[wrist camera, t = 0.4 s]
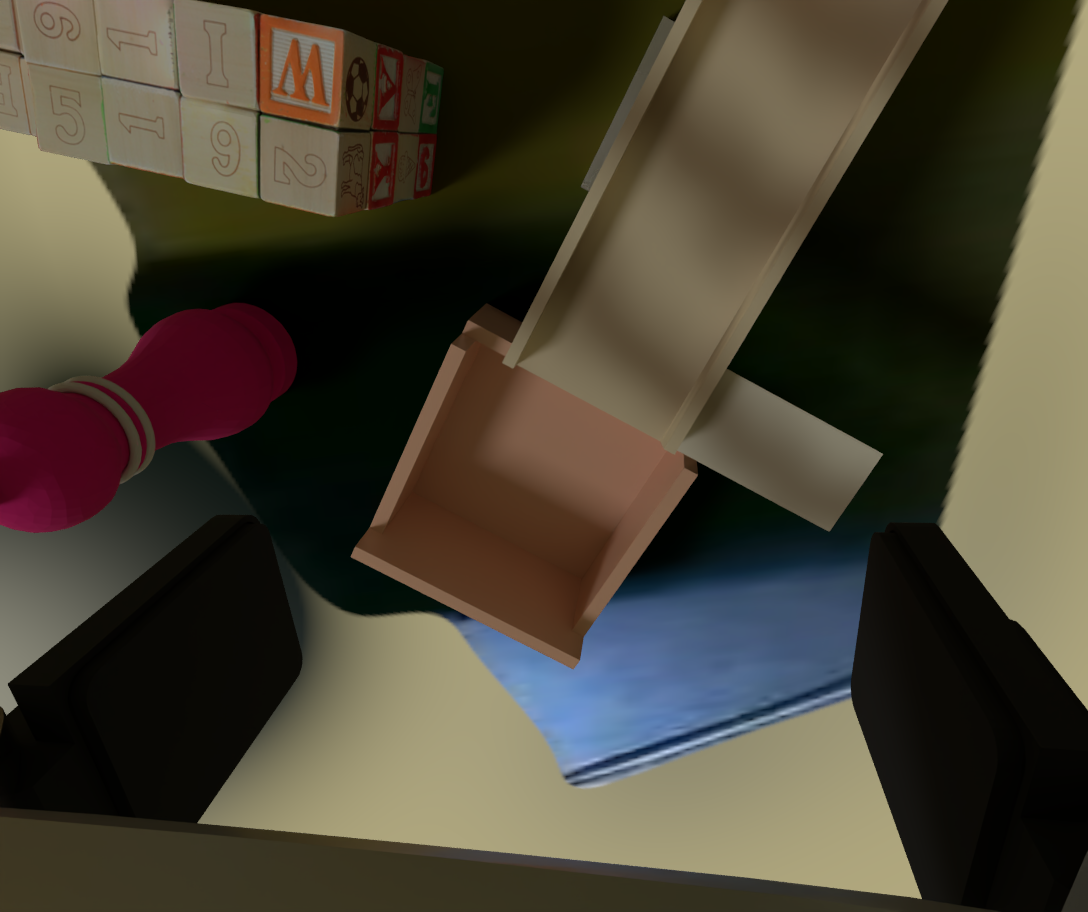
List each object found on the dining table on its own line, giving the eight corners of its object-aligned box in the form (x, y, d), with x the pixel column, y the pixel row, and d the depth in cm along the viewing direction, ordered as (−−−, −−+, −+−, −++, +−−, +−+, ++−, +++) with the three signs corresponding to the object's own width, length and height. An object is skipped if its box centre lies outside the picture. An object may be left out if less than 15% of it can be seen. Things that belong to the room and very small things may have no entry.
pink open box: (486, 303, 38) (445, 340, 31) (700, 418, 39) (709, 480, 32) (401, 489, 44) (350, 556, 37) (587, 585, 45) (573, 669, 38)
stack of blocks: (67, 114, 38) (-179, 103, 27) (52, -19, 35) (-230, -93, 24) (434, 196, 36) (334, 220, 25) (448, 65, 34) (343, 28, 23)
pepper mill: (286, 426, 44) (26, 623, 26) (185, 372, 43) (-152, 535, 25) (321, 331, 41) (50, 481, 23) (212, 271, 40) (-152, 377, 22)
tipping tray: (771, -154, 26) (824, -280, 20) (1116, 53, 27) (1260, -10, 21) (513, 352, 31) (497, 367, 26) (807, 509, 32) (855, 558, 27)
